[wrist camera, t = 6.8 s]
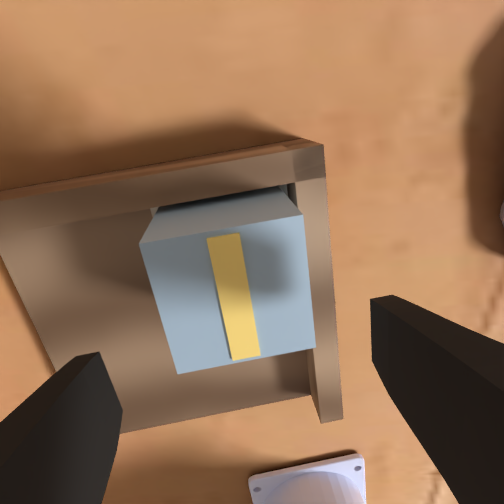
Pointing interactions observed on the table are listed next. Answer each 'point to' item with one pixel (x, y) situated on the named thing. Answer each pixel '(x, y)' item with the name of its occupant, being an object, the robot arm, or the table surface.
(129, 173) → the tray
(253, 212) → the cube
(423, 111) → the table surface
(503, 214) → the stone block
